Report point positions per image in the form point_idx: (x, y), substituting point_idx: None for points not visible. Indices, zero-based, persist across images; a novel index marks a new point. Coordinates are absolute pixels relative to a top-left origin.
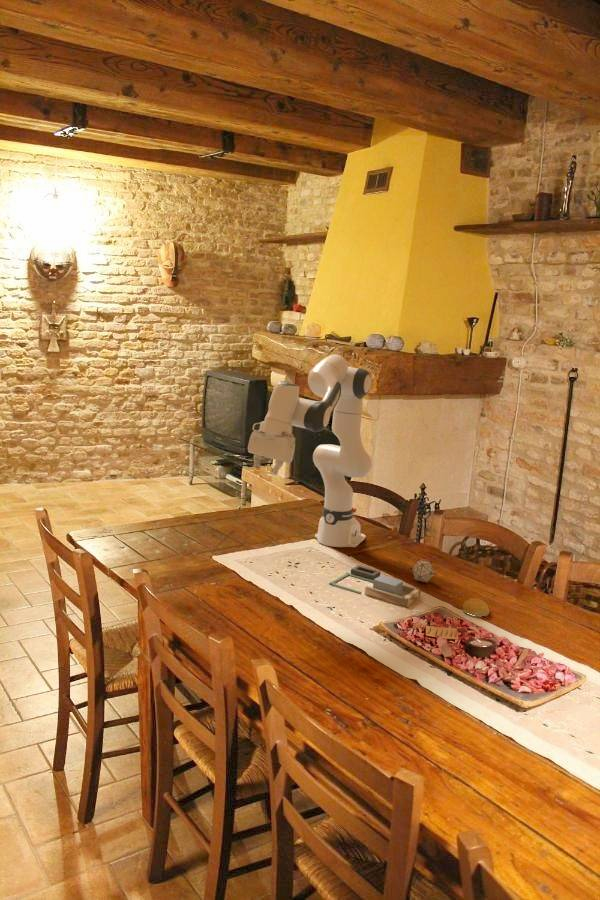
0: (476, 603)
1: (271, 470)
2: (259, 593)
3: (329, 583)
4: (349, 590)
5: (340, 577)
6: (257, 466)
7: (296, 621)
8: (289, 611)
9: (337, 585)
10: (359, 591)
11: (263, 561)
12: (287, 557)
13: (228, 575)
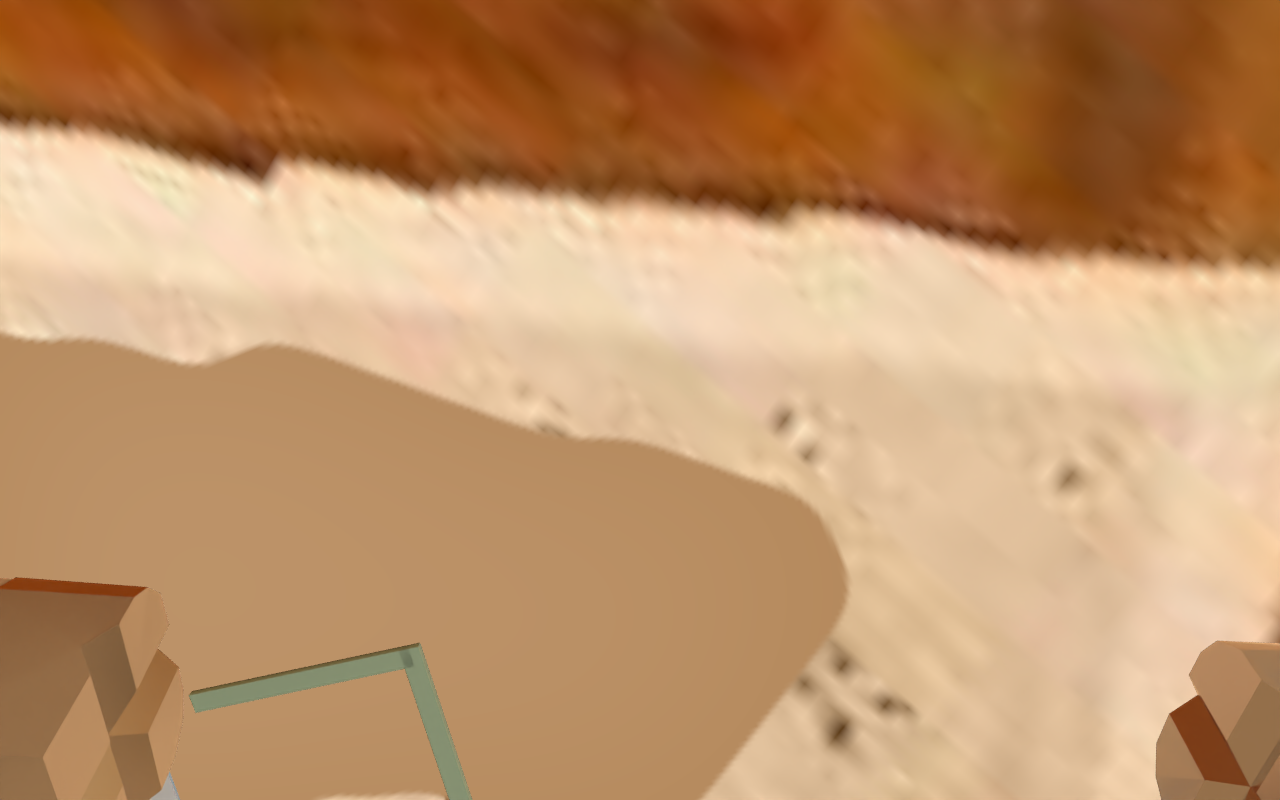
0: None
1: (62, 657)
2: (555, 122)
3: (414, 647)
4: (264, 676)
5: (455, 775)
6: (1260, 769)
7: (18, 12)
8: (181, 89)
9: (357, 665)
10: (205, 707)
11: (1022, 563)
12: (969, 752)
13: (975, 151)
